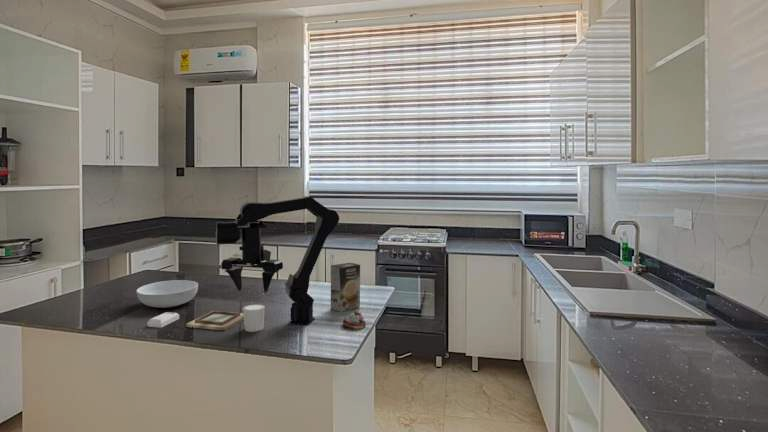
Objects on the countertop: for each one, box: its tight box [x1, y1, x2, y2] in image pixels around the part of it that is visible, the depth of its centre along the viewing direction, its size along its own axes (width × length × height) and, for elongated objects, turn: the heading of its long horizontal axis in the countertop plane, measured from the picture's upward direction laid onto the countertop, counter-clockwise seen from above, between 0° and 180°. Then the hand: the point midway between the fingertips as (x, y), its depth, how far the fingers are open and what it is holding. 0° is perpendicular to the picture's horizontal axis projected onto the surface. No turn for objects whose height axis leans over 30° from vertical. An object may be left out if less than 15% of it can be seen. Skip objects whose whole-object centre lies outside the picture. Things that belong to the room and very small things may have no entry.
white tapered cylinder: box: [242, 303, 266, 333], centre depth 140 cm, size 7×7×7 cm
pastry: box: [342, 310, 367, 331], centre depth 143 cm, size 8×8×5 cm
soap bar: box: [146, 311, 180, 328], centre depth 146 cm, size 5×9×3 cm, turn 169°
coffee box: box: [330, 262, 361, 313], centre depth 162 cm, size 9×6×16 cm
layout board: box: [185, 310, 244, 331], centre depth 147 cm, size 14×14×2 cm
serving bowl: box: [135, 279, 199, 309], centre depth 166 cm, size 21×21×7 cm
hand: (252, 291), depth 140 cm, fingers open, 9 cm apart
